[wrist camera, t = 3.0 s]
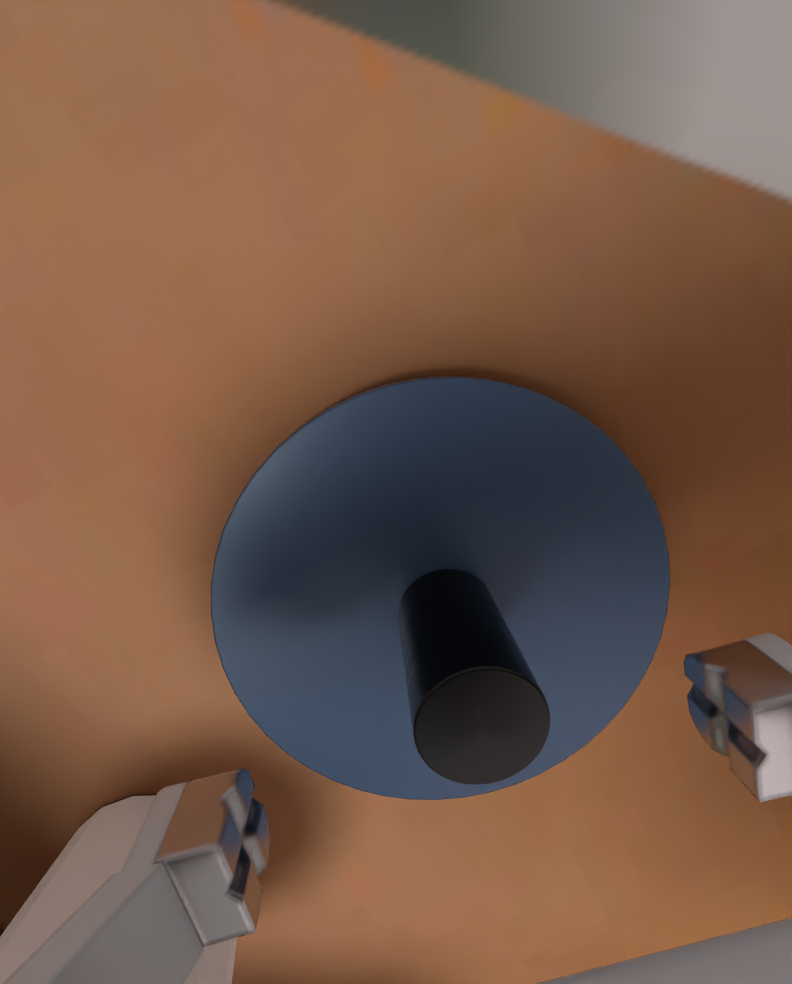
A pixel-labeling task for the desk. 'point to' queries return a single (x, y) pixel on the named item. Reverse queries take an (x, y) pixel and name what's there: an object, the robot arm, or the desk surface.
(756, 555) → the desk surface
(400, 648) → the lid
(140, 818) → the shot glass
